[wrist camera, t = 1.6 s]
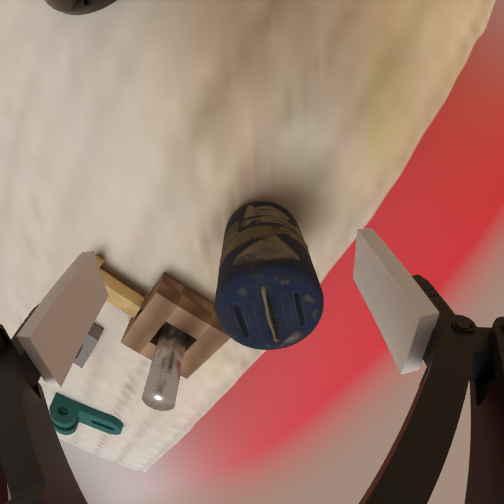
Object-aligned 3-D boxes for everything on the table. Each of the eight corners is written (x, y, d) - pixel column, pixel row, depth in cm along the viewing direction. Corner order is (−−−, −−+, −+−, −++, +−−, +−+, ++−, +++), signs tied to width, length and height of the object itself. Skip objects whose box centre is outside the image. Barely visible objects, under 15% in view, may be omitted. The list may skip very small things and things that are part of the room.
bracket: (58, 404, 61) (48, 428, 54) (56, 391, 58) (45, 416, 51) (122, 430, 64) (115, 455, 57) (124, 419, 62) (116, 445, 55)
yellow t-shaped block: (85, 274, 43) (70, 295, 38) (95, 254, 41) (79, 274, 36) (136, 308, 45) (126, 331, 40) (149, 290, 44) (139, 313, 39)
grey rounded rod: (161, 320, 47) (137, 400, 33) (173, 304, 46) (150, 387, 31) (182, 332, 48) (165, 414, 34) (195, 317, 47) (180, 401, 33)
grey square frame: (45, 329, 48) (38, 339, 46) (56, 297, 45) (48, 307, 42) (87, 357, 51) (82, 368, 49) (103, 329, 48) (97, 340, 45)
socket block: (129, 321, 47) (120, 342, 43) (164, 272, 43) (156, 292, 39) (190, 356, 51) (186, 378, 46) (232, 314, 47) (231, 337, 42)
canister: (300, 198, 39) (339, 272, 23) (295, 265, 43) (321, 361, 27) (223, 198, 38) (208, 273, 22) (225, 265, 43) (216, 363, 27)
